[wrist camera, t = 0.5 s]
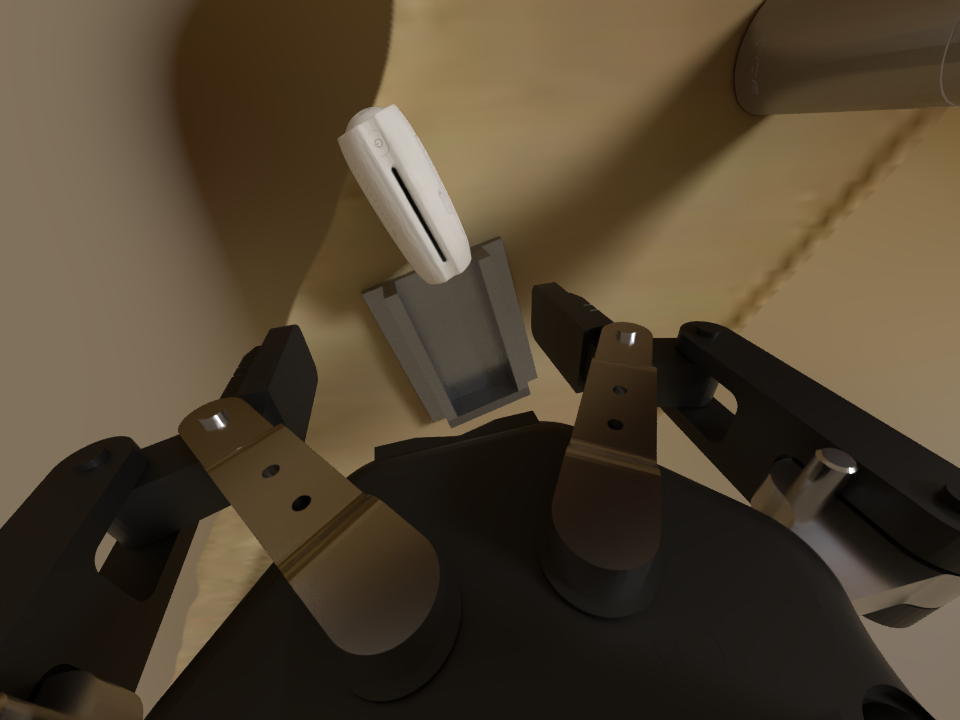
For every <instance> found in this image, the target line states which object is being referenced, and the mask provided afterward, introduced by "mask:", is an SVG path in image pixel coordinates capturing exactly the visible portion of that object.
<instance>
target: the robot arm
mask: <svg viewBox="0 0 960 720" xmlns="http://www.w3.org/2000/svg"><path fill="white" fill-rule="evenodd" d="M735 90H736V95H737V98H738V101H739V103H740V105H741V106H742V107H743V109H744V110H745V111H747V112H748V113H750V114H754V115H774V114H801V113H824V112H846V111H869V110H892V109H914V108H937V107H957V106H958V107H959V106H960V0H767V1H766V2H765V3H764V4H763V6H762V7H761V8H760V10H759V11H758V12H757V14H756V16H755V17H754V19H753V21H752V22H751V24H750V26H749V28H748V30H747V32H746V34H745V37H744V39H743V41H742V44H741V47H740V51H739V54H738V58H737V63H736V68H735ZM531 328H532V334H533V337H534V339H535V341H536V342H537V343H538V345H539V346H540V347H541V349H542V350H543V351H544V352H545V354H546V355H547V356H548V358H549V359H550V360H551V361H552V363H553V364H554V365H555V367H556V368H557V369H558V370H559V372H560V373H561V374H562V376H563V377H564V378H565V379H566V381H567V382H568V383H569V385H570V386H571V387H572V388H573V390H574V391H575V392H576V393H580V392H583V395H582V399H581V403H580V406H579V410H578V414H577V418H576V421H575V425H574V426H571V425H567V424H563V423H557V422H548V421H539V420H538V419H537V417H536V415H535V414H534V412H533V411H529V412H525V413H520V414H516V415H512V416H508V417H503V418H499V419H495V420H493V421H491V422H489V423H487V424H484V425H482V426H480V427H478V428H476V429H473V430H471V431H469V432H467V433H465V434H462V435H459V436H448V437H422V438H413V439H408V440H404V441H400V442H395V443H391V444H387V445H382V446H378V447H375V460H374V461H372V462H370V463H368V464H366V465H364V466H362V467H361V468H359V469H358V470H356V471H355V472H353V473H352V474H350V475H349V476H348V477H347V478H345V477H344V476H343V475H342V474H341V473H339V472H338V471H337V470H336V469H335V468H334V467H332V466H331V465H330V464H329V463H328V462H327V461H325V460H324V459H323V458H322V457H321V456H320V455H318V454H317V453H316V452H315V451H314V450H312V449H311V448H310V447H309V446H308V445H307V444H305V443H304V442H305V438H306V433H307V429H308V424H309V419H310V415H311V410H312V406H313V401H314V397H315V392H316V387H317V383H318V376H317V370H316V366H315V363H314V361H313V359H312V356H311V354H310V351H309V349H308V346H307V344H306V341H305V339H304V336H303V334H302V332H301V329H300V328H299V326H298V325H296V324H295V325H289V326H283V327H277V328H271V329H270V330H269V332H268V334H267V336H266V338H265V340H264V342H263V344H262V345H261V346H256V347H255V348H253V349H252V350H251V351H250V352H249V353H247V354H246V355H245V356H244V357H243V359H242V361H241V362H240V364H239V366H238V367H239V368H237V369H236V371H235V373H234V377H232V378H231V380H230V382H229V384H228V385H227V387H226V389H225V390H224V392H223V394H222V396H221V397H220V399H218V400H215V401H212V402H209V403H207V404H205V405H203V406H201V407H199V408H197V409H196V410H194V411H193V412H191V413H190V414H189V415H187V416H186V417H185V418H184V419H183V421H182V422H181V423H180V425H179V428H178V433H179V435H176V436H174V437H171V438H169V439H166V440H163V441H161V442H158V443H156V444H153V445H151V446H148V447H145V448H142V449H140V447H139V446H138V445H137V444H136V443H135V442H134V441H133V440H132V439H131V438H130V437H126V436H117V437H111V438H108V439H103V440H100V441H98V442H95V443H93V444H90V445H88V446H86V447H84V448H82V449H80V450H78V451H76V452H75V453H73V454H71V455H70V456H68V457H67V458H65V459H64V460H63V461H61V462H60V463H59V464H58V465H57V466H55V467H54V468H53V470H52V471H51V472H50V473H49V474H48V475H47V476H46V478H45V479H44V480H43V481H42V482H41V483H40V484H39V485H38V487H37V488H36V489H35V490H34V491H33V492H32V494H31V495H30V496H29V497H28V498H27V499H26V500H25V501H24V503H23V504H22V505H21V506H20V507H19V508H18V510H17V511H16V512H15V513H14V514H13V515H12V516H11V518H10V519H9V520H8V521H7V522H6V523H5V524H4V525H3V527H2V528H1V529H0V720H143V704H142V702H141V699H140V698H139V696H138V695H137V694H135V691H136V688H137V685H138V683H139V680H140V677H141V675H142V672H143V670H144V667H145V664H146V661H147V659H148V656H149V654H150V651H151V648H152V646H153V643H154V640H155V638H156V635H157V632H158V630H159V627H160V624H161V622H162V619H163V616H164V614H165V611H166V608H167V606H168V603H169V601H170V598H171V595H172V593H173V590H174V587H175V585H176V582H177V579H178V577H179V574H180V571H181V569H182V566H183V563H184V561H185V558H186V555H187V553H188V550H189V547H190V545H191V542H192V539H193V537H194V534H195V531H196V529H197V526H198V523H199V520H201V519H203V518H205V517H207V516H210V515H212V514H213V513H216V512H218V511H220V510H222V509H224V508H226V507H228V506H230V505H232V507H233V508H234V509H235V511H236V512H237V513H238V515H239V516H240V517H241V519H242V520H243V521H244V523H245V524H246V525H247V527H248V528H249V529H250V531H251V532H252V533H253V535H254V536H255V537H256V539H257V540H258V541H259V543H260V544H261V545H262V547H263V548H264V549H265V551H266V552H267V553H268V555H269V556H270V557H271V559H272V560H273V561H274V562H273V563H272V564H271V566H270V567H269V568H268V569H267V570H266V572H265V573H264V574H263V575H262V576H261V578H260V579H259V580H258V581H257V582H256V584H255V585H254V586H253V587H252V588H251V590H250V591H249V592H248V593H247V594H246V596H245V597H244V598H243V599H242V601H241V602H240V603H239V604H238V605H237V607H236V608H235V609H234V610H233V611H232V613H231V614H230V615H229V616H228V617H227V619H226V620H225V621H224V622H223V623H222V625H221V626H220V627H219V628H218V630H217V631H216V632H215V633H214V634H213V636H212V637H211V638H210V639H209V640H208V642H207V643H206V644H205V645H204V646H203V648H202V649H201V650H200V651H199V652H198V654H197V655H196V656H195V657H194V659H193V660H192V661H191V662H190V663H189V665H188V666H187V667H186V668H185V669H184V671H183V672H182V673H181V674H180V675H179V677H178V678H177V679H176V680H175V681H174V683H173V684H172V685H171V686H170V687H169V689H168V690H167V691H166V692H165V694H164V695H163V696H162V697H161V698H160V700H159V701H158V702H157V703H156V705H155V706H154V707H153V708H152V710H151V711H150V712H149V714H148V715H147V716H146V717H145V719H144V720H935V719H934V718H933V717H932V716H931V715H930V714H929V713H928V712H927V711H926V710H925V709H924V708H923V707H922V706H921V704H919V702H918V701H917V700H916V699H915V698H914V697H913V696H912V694H911V693H910V692H909V690H908V689H907V688H906V686H905V685H904V684H903V683H902V681H901V680H900V679H899V677H898V676H897V675H896V673H895V672H894V671H893V669H892V668H891V667H890V665H889V664H888V662H887V661H886V660H885V658H884V657H883V655H882V654H881V652H880V651H879V650H878V648H877V646H876V645H875V644H874V642H873V641H872V639H871V637H870V635H869V634H868V632H867V630H866V629H865V627H864V625H863V624H862V622H861V620H860V618H859V617H858V616H861V615H862V616H864V617H866V618H868V619H870V620H872V621H874V622H876V623H879V624H881V625H885V626H888V627H893V628H905V627H909V626H911V625H913V624H914V623H916V622H918V621H919V620H921V619H923V618H924V617H926V616H927V615H929V614H931V613H932V612H934V611H935V610H937V609H939V608H940V607H942V606H944V605H945V604H947V603H948V602H950V601H952V600H953V599H955V598H957V597H958V596H960V468H958V467H956V466H955V465H953V464H952V463H950V462H948V461H947V460H945V459H943V458H942V457H940V456H938V455H937V454H935V453H933V452H932V451H930V450H928V449H927V448H925V447H923V446H922V445H920V444H918V443H917V442H915V441H913V440H912V439H910V438H909V437H907V436H905V435H903V434H902V433H900V432H899V431H897V430H895V429H894V428H892V427H890V426H889V425H887V424H885V423H884V422H882V421H880V420H879V419H877V418H875V417H873V416H872V415H870V414H869V413H867V412H865V411H864V410H862V409H861V408H859V407H857V406H855V405H854V404H852V403H851V402H849V401H847V400H845V399H844V398H842V397H841V396H839V395H837V394H836V393H834V392H832V391H831V390H829V389H827V388H826V387H824V386H822V385H821V384H819V383H817V382H816V381H814V380H813V379H811V378H809V377H807V376H806V375H804V374H802V373H801V372H799V371H798V370H796V369H794V368H792V367H791V366H789V365H787V364H786V363H784V362H783V361H781V360H779V359H778V358H776V357H774V356H773V355H771V354H769V353H768V352H766V351H765V350H763V349H761V348H760V347H758V346H756V345H755V344H753V343H751V342H750V341H748V340H746V339H745V338H743V337H741V336H740V335H738V334H736V333H735V332H733V331H731V330H730V329H728V328H726V327H724V326H721V325H718V324H715V323H710V322H703V321H693V322H688V323H685V324H683V325H682V326H681V327H680V330H679V334H678V337H677V338H653V335H652V333H651V332H650V331H649V330H648V329H647V328H645V327H643V326H640V325H637V324H634V323H628V322H615V323H614V322H613V321H612V320H610V319H609V318H608V317H606V316H605V315H604V314H603V313H601V312H600V311H599V310H597V309H596V308H595V307H594V306H593V305H590V303H589V302H588V301H586V300H585V299H584V298H582V297H580V296H577V295H575V294H572V293H568V292H566V291H565V290H564V289H563V288H562V287H560V286H559V285H558V284H557V283H555V282H552V283H546V284H540V285H535V286H534V287H533V289H532V313H531ZM718 383H720V384H722V385H723V386H724V387H725V388H727V389H728V390H729V391H730V392H732V394H733V395H734V396H735V398H736V401H737V404H738V408H737V412H736V414H735V415H734V414H733V413H732V412H730V411H729V410H728V409H727V408H726V407H724V406H723V405H722V404H721V403H720V402H719V401H717V400H716V399H715V398H714V397H713V395H714V393H715V390H716V388H717V386H718ZM657 407H660V408H661V409H662V410H663V411H664V412H665V413H666V414H667V415H668V416H669V417H670V418H671V420H673V422H674V423H675V424H676V425H677V426H678V427H679V428H680V429H681V430H682V431H683V432H684V433H685V434H686V436H687V437H688V438H689V439H690V440H691V441H692V442H693V443H694V444H695V445H696V446H697V447H698V448H699V449H700V450H701V452H702V453H704V455H705V456H706V457H707V458H708V459H709V460H710V461H711V462H712V463H713V464H714V465H715V466H716V467H717V469H719V471H720V472H721V473H722V474H723V475H724V476H725V477H726V478H727V479H728V480H729V481H730V482H731V483H732V485H733V486H734V487H735V488H736V489H737V490H738V491H739V492H740V493H741V494H742V495H743V496H744V497H745V498H746V499H747V500H748V501H749V503H750V504H751V507H749V506H747V505H745V504H743V503H741V502H739V501H736V500H734V499H732V498H730V497H728V496H726V495H723V494H721V493H719V492H717V491H714V490H712V489H710V488H708V487H706V486H704V485H701V484H699V483H697V482H695V481H693V480H691V479H688V478H686V477H684V476H682V475H680V474H678V473H675V472H673V471H671V470H669V469H667V468H665V467H663V466H660V465H658V464H657ZM106 532H107V533H109V534H110V535H112V537H114V538H115V539H116V540H117V541H116V543H115V545H114V546H113V548H112V550H111V552H110V554H109V555H108V557H107V559H106V561H105V563H104V564H103V566H102V568H101V570H100V571H99V573H98V572H97V569H96V567H95V561H94V560H95V553H96V550H97V548H98V546H99V544H100V542H101V541H102V539H103V537H104V536H105V534H106Z"/></svg>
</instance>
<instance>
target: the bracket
mask: <svg viewBox="0 0 960 720" xmlns="http://www.w3.org/2000/svg"><path fill="white" fill-rule="evenodd" d="M470 252H471V261H470V264H469V265H468V267H467V268H466V269H465V270H464V271H463V272H462V273H460V274H458V275H455V276H453V277H452V278H450V279H449V280H448V281H447V282H444V283H441V284H429V283H427V282H426V281H424V280H423V279H422V278H421V277H420V276H419V275H418V274H417V273H416V272H415V270H414V271H412V272H409V273H407V274H404V275H402V276H399V277H397V278H394V279H392V280H389V281H387V282H384V283H382V284H379V285H377V286H374V287H372V288H369V289H367V290H364V291H362V296H363V298H364V300H365V302H366V303H367V305H368V307H369V309H370V311H371V312H372V314H373V316H374V318H375V319H376V321H377V323H378V325H379V327H380V328H381V330H382V332H383V334H384V335H385V337H386V339H387V341H388V343H389V344H390V346H391V348H392V350H393V352H394V353H395V355H396V357H397V359H398V360H399V362H400V364H401V366H402V368H403V369H404V371H405V373H406V375H407V376H408V378H409V380H410V382H411V384H412V385H413V387H414V389H415V391H416V393H417V394H418V396H419V398H420V400H421V401H422V403H423V405H424V407H425V409H426V410H427V412H428V414H429V416H430V417H431V419H432V421H433V422H435V421H437V420H440V419H442V418H444V417H446V419H447V421H448V423H449V425H450V426H451V428H453V427H456V426H458V425H460V424H463V423H465V422H467V421H470V420H472V419H474V418H477V417H479V416H481V415H483V414H486V413H488V412H490V411H493V410H495V409H497V408H500V407H502V406H504V405H507V404H509V403H511V402H514V401H516V400H518V399H521V398H523V397H525V396H528V395H530V391H529V387H528V384H527V382H529V381H531V380H533V379H536V378H538V377H537V374H536V370H535V366H534V362H533V358H532V354H531V350H530V346H529V343H528V339H527V335H526V331H525V327H524V323H523V319H522V315H521V312H520V308H519V304H518V300H517V296H516V292H515V288H514V284H513V281H512V277H511V273H510V269H509V265H508V261H507V257H506V253H505V250H504V246H503V242H502V238H500V237H496V238H494V239H491V240H489V241H486V242H484V243H481V244H479V245H476V246H474V247H471V248H470Z"/></svg>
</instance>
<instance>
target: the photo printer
mask: <svg viewBox="0 0 960 720" xmlns="http://www.w3.org/2000/svg"><path fill="white" fill-rule="evenodd" d="M338 143H339V145H340V148H341V151H342V153H343V155H344V158H345V160H346V162H347V164H348V166H349V168H350V170H351V172H352V174H353V175H354V177H355V179H356V180H357V182H358V184H359V186H360V187H361V189H362V191H363V193H364V194H365V196H366V198H367V199H368V201H369V203H370V204H371V206H372V207H373V209H374V211H375V212H376V214H377V215H378V217H379V219H380V220H381V222H382V223H383V225H384V227H385V228H386V230H387V231H388V233H389V234H390V236H391V237H392V239H393V240H394V242H395V243H396V245H397V246H398V248H399V249H400V251H401V252H402V254H403V255H404V257H405V258H406V259H407V261H408V262H409V264H410V265H411V266H412V268H413V269H414V270H415V272H416V273H417V274H418V275H419V276H420V277H421V278H422V279H423V280H424V281H426V282H427V283H429V284H441V283H444V282H447V281H448V280H449V279H450V278H452V277H453V276H455V275H458V274H460V273H462V272H463V271H464V270H465V269H466V268H467V267H468V265H469V264H470V261H471V252H470V247H469V242H468V239H467V237H466V234H465V232H464V229H463V227H462V224H461V222H460V220H459V217H458V215H457V213H456V211H455V208H454V206H453V204H452V202H451V200H450V198H449V196H448V194H447V191H446V189H445V187H444V185H443V183H442V181H441V179H440V177H439V175H438V173H437V171H436V169H435V167H434V165H433V163H432V162H431V160H430V158H429V156H428V154H427V152H426V150H425V148H424V147H423V145H422V143H421V141H420V140H419V138H418V136H417V135H416V134H415V132H414V130H413V128H412V127H411V125H410V124H409V122H408V121H407V119H406V118H405V117H404V115H403V114H402V113H401V112H400V110H399V109H398V108H397V107H396V106H395V105H394V104H393V105H390V106H388V107H386V108H382V107H369V108H367V109H364V110H362V111H360V112H359V113H357V114H356V115H355V116H354V117H353V118H352V119H351V120H350V122H349V124H348V126H347V129H346V132H345V134H344V135H342V136H341V137H339V138H338Z"/></svg>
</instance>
